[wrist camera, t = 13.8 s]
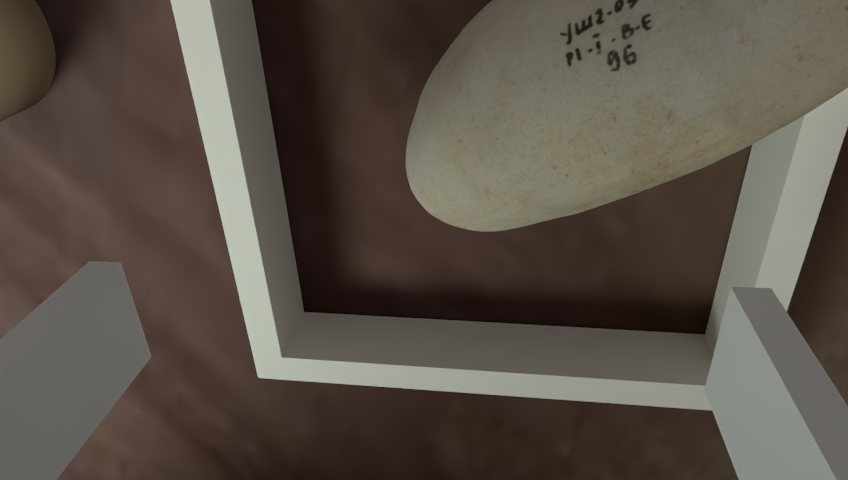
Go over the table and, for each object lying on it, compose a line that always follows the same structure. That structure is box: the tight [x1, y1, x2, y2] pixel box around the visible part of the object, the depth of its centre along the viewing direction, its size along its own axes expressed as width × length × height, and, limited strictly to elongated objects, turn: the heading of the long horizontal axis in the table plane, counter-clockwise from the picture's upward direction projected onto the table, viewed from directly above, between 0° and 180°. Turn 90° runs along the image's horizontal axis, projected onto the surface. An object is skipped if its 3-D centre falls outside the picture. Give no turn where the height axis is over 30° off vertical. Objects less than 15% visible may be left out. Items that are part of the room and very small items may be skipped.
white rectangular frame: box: [171, 0, 848, 410], centre depth 17 cm, size 16×16×2 cm
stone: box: [406, 0, 848, 231], centre depth 14 cm, size 6×6×12 cm
